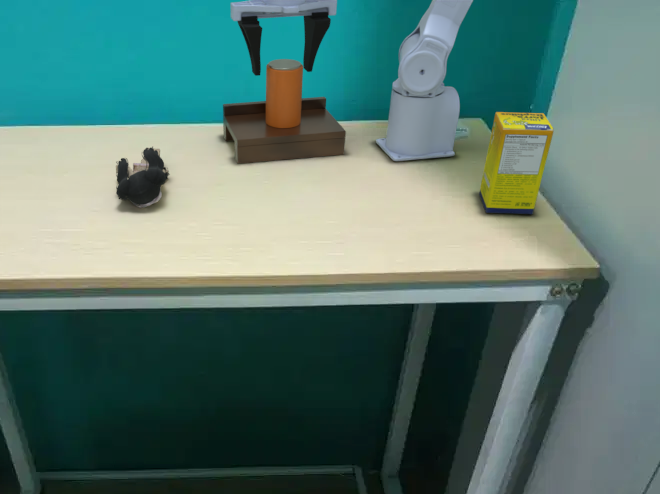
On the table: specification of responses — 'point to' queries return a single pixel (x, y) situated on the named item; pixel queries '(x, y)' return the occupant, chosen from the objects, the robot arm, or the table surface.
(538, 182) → the supplement box
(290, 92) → the can
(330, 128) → the shelf
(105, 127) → the table surface
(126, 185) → the toy figure
